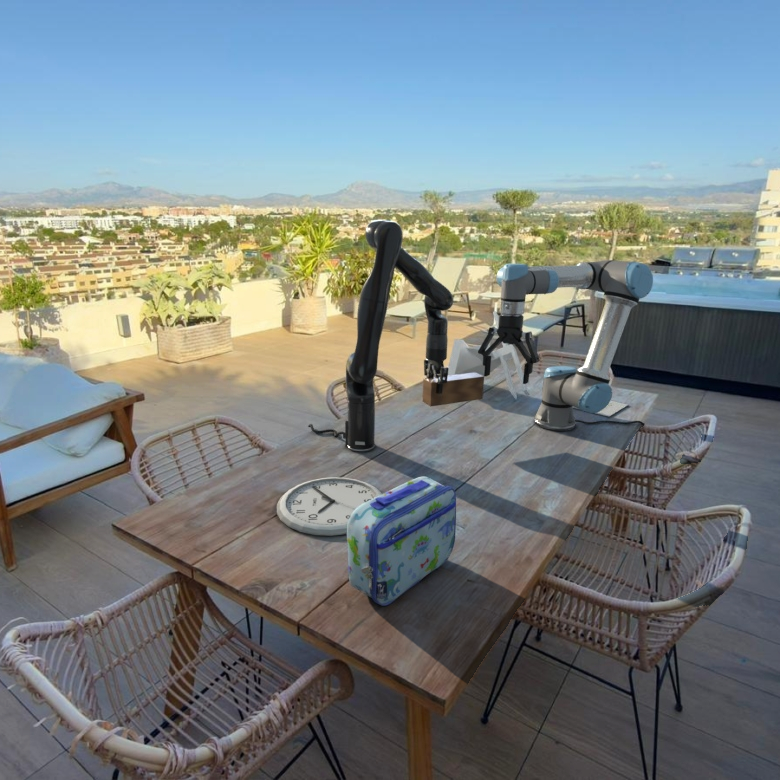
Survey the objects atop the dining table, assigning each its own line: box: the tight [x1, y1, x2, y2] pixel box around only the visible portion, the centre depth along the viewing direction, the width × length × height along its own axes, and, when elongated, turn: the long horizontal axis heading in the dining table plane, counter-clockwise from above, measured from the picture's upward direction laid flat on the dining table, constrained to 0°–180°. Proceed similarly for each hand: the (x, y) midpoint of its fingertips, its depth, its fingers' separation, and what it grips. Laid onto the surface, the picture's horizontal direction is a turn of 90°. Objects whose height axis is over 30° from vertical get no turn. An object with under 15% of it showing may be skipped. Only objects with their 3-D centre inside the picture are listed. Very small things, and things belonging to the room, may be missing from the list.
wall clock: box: [276, 476, 384, 537], centre depth 142 cm, size 30×2×30 cm
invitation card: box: [573, 400, 629, 418], centre depth 226 cm, size 21×1×15 cm
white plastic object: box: [447, 310, 531, 400], centre depth 245 cm, size 37×45×31 cm
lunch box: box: [346, 475, 457, 607], centre depth 111 cm, size 26×11×21 cm, turn 134°
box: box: [422, 372, 485, 407], centre depth 194 cm, size 22×6×9 cm, turn 115°
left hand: (434, 390), depth 191 cm, fingers closed on box, 6 cm apart
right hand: (505, 379), depth 170 cm, fingers open, 13 cm apart
